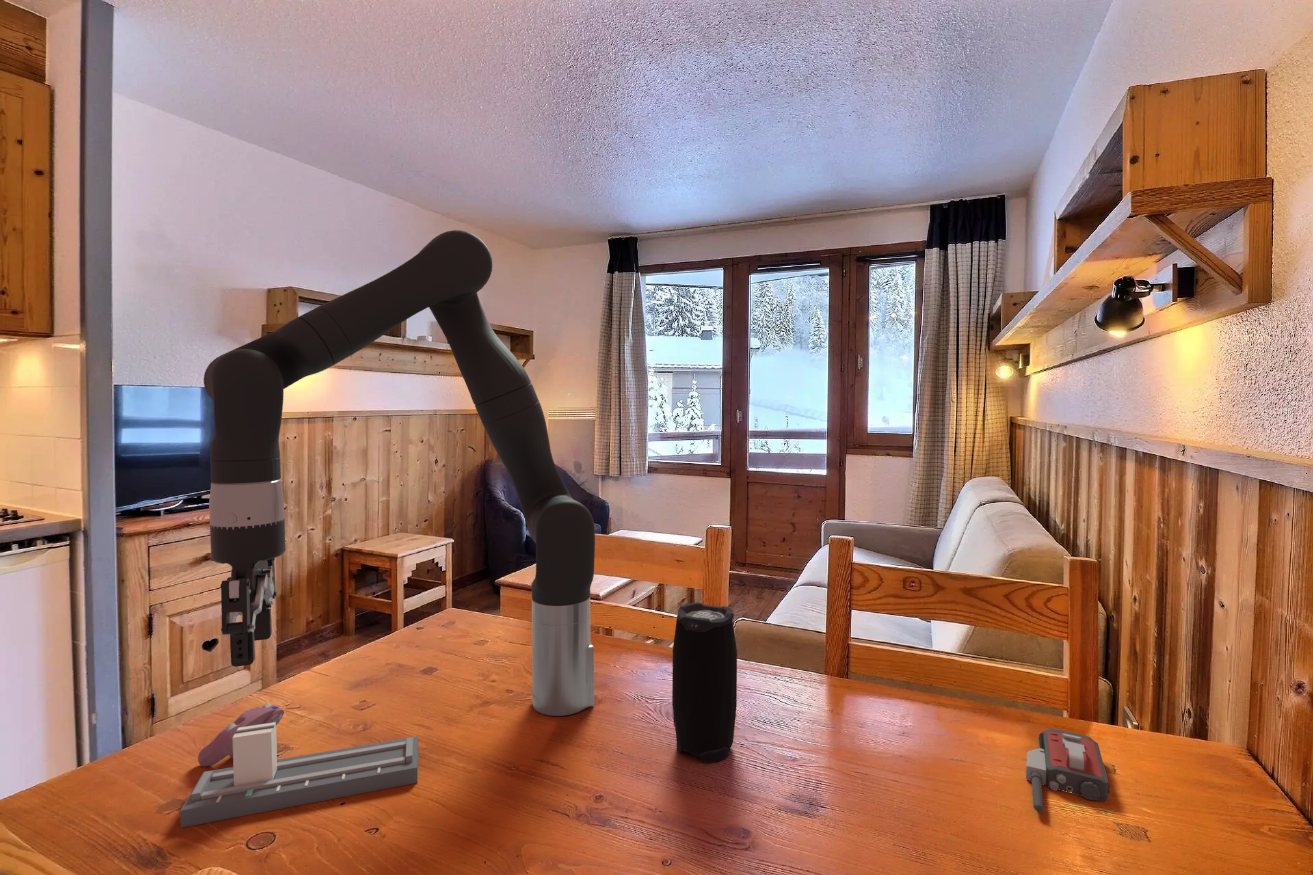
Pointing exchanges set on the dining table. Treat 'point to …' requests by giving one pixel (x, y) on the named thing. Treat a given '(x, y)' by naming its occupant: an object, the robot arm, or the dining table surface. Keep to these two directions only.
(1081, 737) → the walkie-talkie
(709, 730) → the portable speaker
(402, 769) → the fader console
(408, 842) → the dining table surface
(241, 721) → the video game controller
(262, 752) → the fader tab
